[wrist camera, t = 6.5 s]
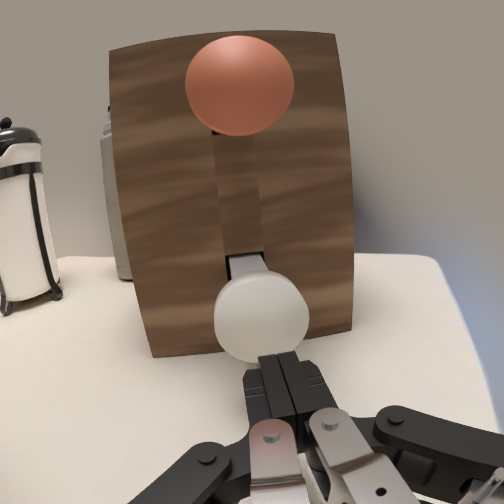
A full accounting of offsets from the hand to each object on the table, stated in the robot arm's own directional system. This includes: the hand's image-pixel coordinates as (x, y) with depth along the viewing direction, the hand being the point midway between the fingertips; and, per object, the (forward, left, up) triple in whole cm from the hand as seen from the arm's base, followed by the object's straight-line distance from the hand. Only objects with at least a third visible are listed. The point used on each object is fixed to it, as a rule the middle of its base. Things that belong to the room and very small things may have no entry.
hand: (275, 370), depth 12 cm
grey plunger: (+10, +4, -3) cm, 11 cm away
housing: (+18, +7, -7) cm, 21 cm away
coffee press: (+18, +44, -7) cm, 48 cm away
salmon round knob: (+10, +4, +9) cm, 14 cm away
